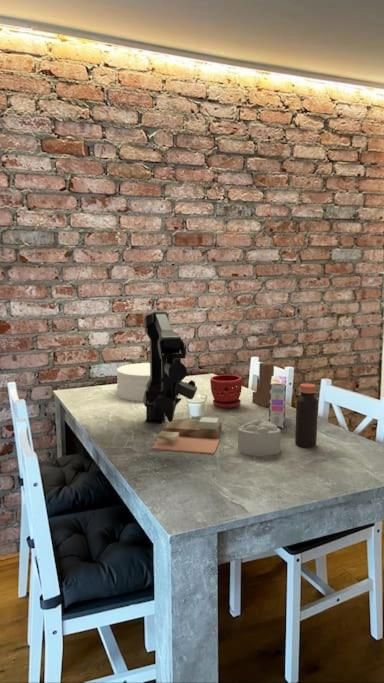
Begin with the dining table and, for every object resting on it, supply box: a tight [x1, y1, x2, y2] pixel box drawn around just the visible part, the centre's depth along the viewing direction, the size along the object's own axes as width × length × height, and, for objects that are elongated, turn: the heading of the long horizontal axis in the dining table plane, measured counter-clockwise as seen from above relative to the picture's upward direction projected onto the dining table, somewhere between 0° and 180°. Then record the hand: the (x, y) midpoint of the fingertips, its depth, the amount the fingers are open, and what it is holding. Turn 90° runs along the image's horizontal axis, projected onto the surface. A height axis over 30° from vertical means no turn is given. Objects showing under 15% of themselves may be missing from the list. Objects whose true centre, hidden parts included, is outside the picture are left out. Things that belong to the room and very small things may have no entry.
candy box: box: [268, 375, 287, 429], centre depth 187 cm, size 14×6×16 cm, turn 168°
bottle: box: [294, 383, 319, 449], centre depth 163 cm, size 7×7×20 cm
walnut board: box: [164, 418, 223, 439], centre depth 175 cm, size 18×10×3 cm, turn 78°
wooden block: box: [251, 361, 275, 408], centre depth 211 cm, size 9×4×18 cm, turn 27°
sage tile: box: [198, 416, 220, 430], centre depth 172 cm, size 6×5×2 cm
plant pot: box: [209, 374, 243, 409], centre depth 210 cm, size 13×13×12 cm
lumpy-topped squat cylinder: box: [237, 419, 282, 457], centre depth 159 cm, size 10×13×9 cm
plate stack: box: [116, 362, 150, 402], centre depth 229 cm, size 28×28×12 cm
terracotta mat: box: [151, 436, 221, 455], centre depth 164 cm, size 20×12×1 cm, turn 78°
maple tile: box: [156, 430, 179, 445], centre depth 165 cm, size 6×5×2 cm
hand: (170, 421), depth 163 cm, fingers closed
